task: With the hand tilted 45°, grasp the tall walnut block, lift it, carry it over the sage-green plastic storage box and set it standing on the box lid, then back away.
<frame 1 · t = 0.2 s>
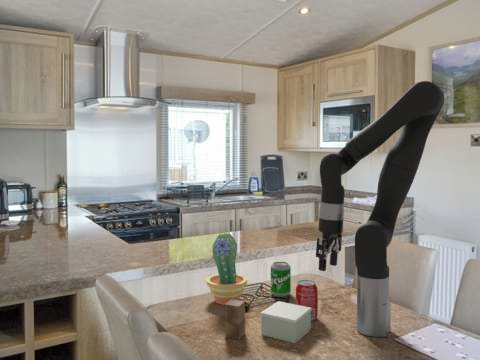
hand: (327, 267, 136), 18 cm above the table, tool pointing down, fingers open, 8 cm apart
storage box: (286, 332, 130), on the table
potted cactus: (227, 301, 158), on the table
walnut block: (235, 335, 128), on the table
soda can 2: (306, 319, 140), on the table
soda can: (280, 294, 164), on the table
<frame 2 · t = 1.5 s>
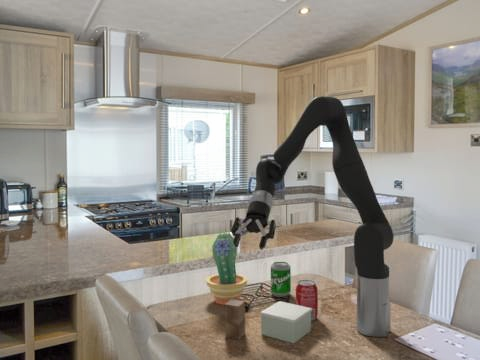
hand: (248, 246, 137), 24 cm above the table, tool tilted 45°, fingers open, 8 cm apart
nothing on the table moved.
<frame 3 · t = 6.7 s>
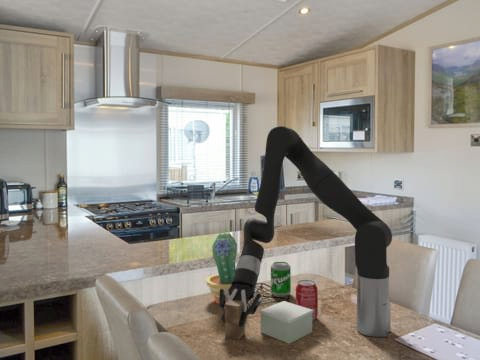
hand: (232, 324, 126), 4 cm above the table, tool tilted 45°, fingers closed on walnut block, 4 cm apart
walnut block: (235, 335, 128), on the table, touching gripper
when the fingers open (12 cm above the table, at t = 11.8 s): walnut block drops 1 cm, resting on storage box.
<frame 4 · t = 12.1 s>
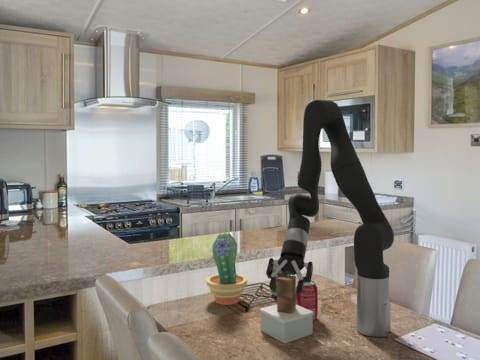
hand: (284, 291, 128), 13 cm above the table, tool tilted 45°, fingers open, 7 cm apart
storage box: (286, 332, 130), on the table, touching walnut block
walnut block: (286, 310, 130), point 7 cm above the table, touching storage box
everything else where it was.
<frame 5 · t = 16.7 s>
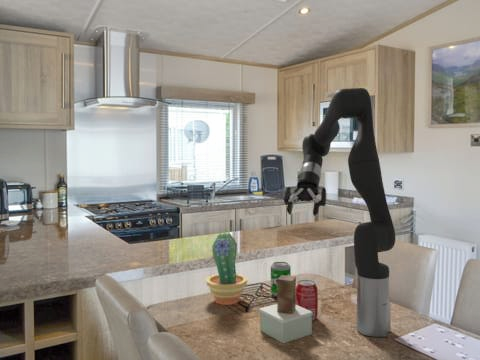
hand: (301, 213, 144), 34 cm above the table, tool tilted 45°, fingers open, 8 cm apart
nothing on the table moved.
at the end: walnut block inside the target area on the storage box (0.4 cm from its centre), point 7.0 cm above the storage box's base; walnut block tilted 1°; the gripper is holding nothing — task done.
